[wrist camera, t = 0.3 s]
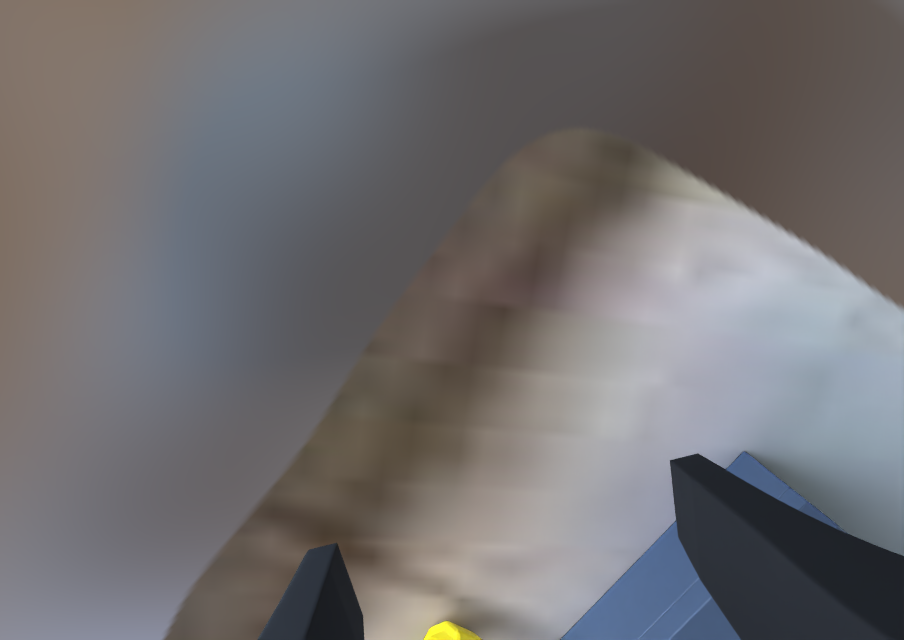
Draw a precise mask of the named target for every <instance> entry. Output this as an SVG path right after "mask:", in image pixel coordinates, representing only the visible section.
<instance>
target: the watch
mask: <svg viewBox="0 0 904 640" xmlns="http://www.w3.org/2000/svg"><path fill="white" fill-rule="evenodd" d="M423 640H482V639H481V638H480V637H479V636H477V635H476V634H475V633H473V632H471V631H469V630H467V629H465V628H463V627H460V626H458V625H456V624H454V623H452V622H449V621H444V622H442V623H440V624H437V625H435V626H433V627H431V628H430V629H429V631H428V633H427V634H426V636H425V638H424V639H423Z"/></svg>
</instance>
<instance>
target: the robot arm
mask: <svg viewBox="0 0 904 640" xmlns="http://www.w3.org/2000/svg"><path fill="white" fill-rule="evenodd" d="M670 466H671V476H672V485H673V494H674V504H675V513H676V523H677V532H678V538H679V540H680V542H681V544H682V546H683V548H684V550H685V552H686V554H687V556H688V558H689V560H690V561H691V563H692V565H693V567H694V569H695V571H696V573H697V575H698V576H699V578H700V580H701V582H702V583H703V585H704V586H705V588H706V589H707V591H708V592H709V594H710V595H711V597H712V598H713V599H714V601H715V602H716V604H717V605H718V607H719V608H720V610H721V611H722V613H723V614H724V616H725V617H726V619H727V620H728V621H729V623H730V624H731V626H732V627H733V629H734V630H735V632H736V633H737V634H738V636H739V637H740V639H741V640H904V556H902V555H899V554H896V553H893V552H891V551H888V550H886V549H883V548H881V547H878V546H876V545H873V544H871V543H869V542H866V541H864V540H861V539H859V538H856V537H854V536H852V535H849V534H847V533H845V532H843V531H840V530H838V529H836V528H834V527H832V526H830V525H828V524H825V523H823V522H821V521H819V520H817V519H815V518H813V517H811V516H809V515H807V514H805V513H803V512H801V511H799V510H797V509H795V508H793V507H791V506H789V505H787V504H785V503H784V502H782V501H780V500H778V499H776V498H774V497H772V496H771V495H769V494H767V493H765V492H763V491H762V490H760V489H758V488H756V487H755V486H753V485H751V484H749V483H748V482H746V481H744V480H742V479H741V478H739V477H737V476H736V475H734V474H732V473H730V472H729V471H727V470H725V469H724V468H722V467H720V466H719V465H717V464H715V463H713V462H712V461H710V460H708V459H707V458H705V457H703V456H701V455H700V454H694V455H690V456H686V457H682V458H678V459H674V460H670ZM258 640H364V626H363V614H362V611H361V609H360V606H359V603H358V600H357V597H356V595H355V592H354V589H353V586H352V583H351V581H350V578H349V575H348V572H347V569H346V567H345V564H344V561H343V558H342V555H341V553H340V550H339V547H338V544H337V543H335V544H331V545H326V546H322V547H318V548H314V549H310V550H308V552H307V553H306V555H305V556H304V558H303V560H302V562H301V564H300V566H299V567H298V569H297V571H296V573H295V575H294V577H293V579H292V580H291V582H290V584H289V586H288V588H287V590H286V591H285V593H284V595H283V597H282V599H281V600H280V602H279V604H278V606H277V607H276V609H275V611H274V613H273V614H272V616H271V618H270V619H269V621H268V623H267V624H266V626H265V628H264V630H263V631H262V633H261V635H260V636H259V638H258Z"/></svg>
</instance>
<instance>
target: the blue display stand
mask: <svg viewBox="0 0 904 640" xmlns="http://www.w3.org/2000/svg"><path fill="white" fill-rule="evenodd" d="M726 470H727V471H729V472H730V473H732V474H734V475H736V476H737V477H739V478H741V479H742V480H744V481H746V482H748V483H749V484H751V485H753V486H755V487H756V488H758V489H760V490H762V491H763V492H765V493H767V494H769V495H771V496H772V497H774V498H776V499H778V500H780V501H782V502H784V503H785V504H787V505H789V506H791V507H793V508H795V509H797V510H799V511H801V512H803V513H805V514H807V515H809V516H811V517H813V518H815V519H817V520H819V521H821V522H823V523H825V524H828V525H830V526H832V527H834V528H836V529H838V530H840V531H843V532H845V531H844V530H843V529H842V528H840V527H839V526H838V525H837V524H836V523H834V522H833V521H832V520H831V519H829V518H828V517H827V516H826V515H824V514H823V513H822V512H821V511H819V510H818V509H817V508H816V507H814V506H813V505H812V504H811V503H809V502H808V501H807V500H806V499H804V498H803V497H802V496H801V495H799V494H798V493H797V492H796V491H794V490H793V489H792V488H790V487H789V486H788V485H787V484H786V483H784V482H783V481H782V480H781V479H779V478H778V477H777V476H775V475H774V474H773V473H772V472H770V471H769V470H768V469H767V468H765V467H764V466H763V465H762V464H760V463H759V462H758V461H757V460H755V459H754V458H753V457H752V456H750V455H749V454H748V453H747V452H745V451H744V452H743V453H742V454H741V455H740V456H739V457H738V458H737V459H736V460H735V461H734V462H733V463H732V464H731V465H730V466H729V467H728V468H727V469H726ZM845 533H846V532H845ZM561 640H741V639H740V637H739V636H738V634H737V633H736V632H735V630H734V629H733V627H732V626H731V624H730V623H729V621H728V620H727V619H726V617H725V616H724V614H723V613H722V611H721V610H720V608H719V607H718V605H717V604H716V602H715V601H714V599H713V598H712V597H711V595H710V594H709V592H708V591H707V589H706V588H705V586H704V585H703V583H702V582H701V580H700V578H699V576H698V575H697V573H696V571H695V569H694V567H693V565H692V563H691V561H690V560H689V558H688V556H687V554H686V552H685V550H684V548H683V546H682V544H681V542H680V540H679V538H678V532H677V523H676V521H675V522H674V523H673V524H672V526H671V527H670V528H669V529H668V530H667V531H666V532H665V533H664V534H663V535H662V536H661V537H660V538H659V539H658V540H657V541H656V542H655V543H654V544H653V545H652V546H651V547H650V548H649V549H648V550H647V551H646V552H645V553H644V554H643V555H642V556H641V557H640V558H639V559H638V560H637V561H636V562H635V564H634V565H633V566H632V567H631V568H630V569H629V570H628V571H627V572H626V573H625V574H624V575H623V576H622V577H621V578H620V579H619V580H618V581H617V582H616V583H615V584H614V585H613V586H612V587H611V588H610V589H609V590H608V591H607V592H606V593H605V594H604V595H603V596H602V597H601V598H600V599H599V601H598V602H597V603H596V604H595V605H594V606H593V607H592V608H591V609H590V610H589V611H588V612H587V613H586V614H585V615H584V616H583V617H582V618H581V619H580V620H579V621H578V622H577V623H576V624H575V625H574V626H573V627H572V628H571V629H570V630H569V631H568V632H567V633H566V634H565V635H564V636H563V637H562V639H561Z"/></svg>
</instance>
